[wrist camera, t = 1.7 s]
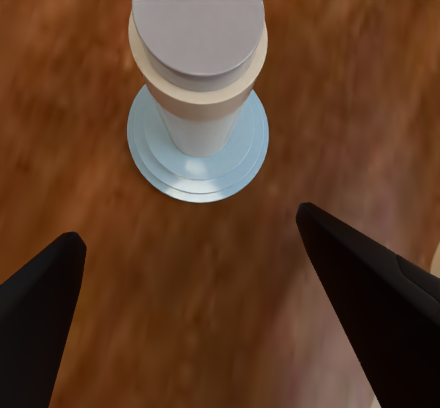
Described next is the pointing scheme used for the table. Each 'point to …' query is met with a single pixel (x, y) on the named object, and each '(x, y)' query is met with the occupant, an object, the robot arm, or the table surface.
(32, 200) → the table surface
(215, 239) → the table surface
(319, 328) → the table surface
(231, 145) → the light blue stepped disc
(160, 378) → the table surface
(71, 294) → the robot arm
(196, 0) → the sugar shaker
